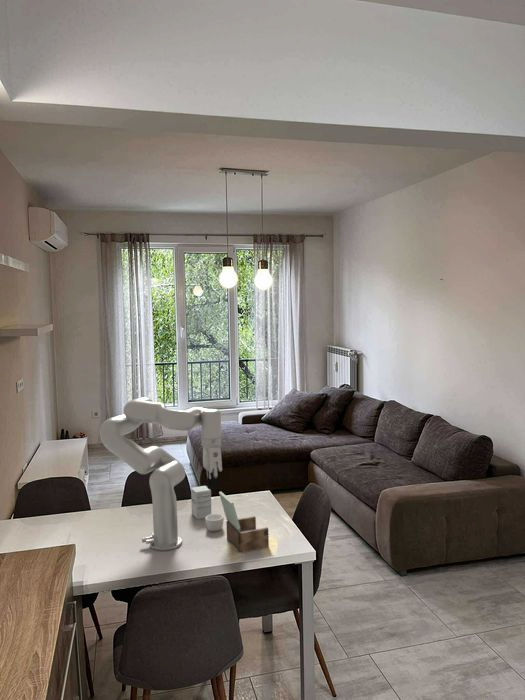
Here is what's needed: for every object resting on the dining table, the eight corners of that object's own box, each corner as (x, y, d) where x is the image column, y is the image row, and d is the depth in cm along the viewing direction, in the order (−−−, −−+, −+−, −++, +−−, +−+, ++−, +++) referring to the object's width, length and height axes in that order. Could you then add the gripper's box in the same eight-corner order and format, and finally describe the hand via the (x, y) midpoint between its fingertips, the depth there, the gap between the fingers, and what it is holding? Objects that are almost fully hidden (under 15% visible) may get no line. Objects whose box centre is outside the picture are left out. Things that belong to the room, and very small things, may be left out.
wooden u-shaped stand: (239, 553, 211) (238, 534, 210) (226, 538, 225) (226, 520, 224) (269, 547, 216) (268, 528, 215) (254, 533, 229) (254, 515, 229)
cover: (241, 531, 211) (239, 532, 211) (228, 519, 224) (226, 520, 224) (233, 502, 209) (230, 503, 209) (221, 491, 222) (218, 492, 222)
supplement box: (191, 514, 253) (190, 487, 252) (206, 511, 256) (205, 485, 255) (196, 519, 246) (195, 492, 245) (212, 516, 249) (211, 489, 248)
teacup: (221, 533, 230) (221, 520, 230) (203, 532, 231) (203, 520, 231) (226, 524, 240) (225, 512, 240) (209, 523, 241) (208, 511, 241)
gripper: (227, 444, 205) (227, 492, 207) (214, 436, 219) (214, 481, 220) (208, 446, 202) (208, 495, 204) (196, 438, 216) (196, 483, 217)
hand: (211, 488), depth 212 cm, fingers closed
